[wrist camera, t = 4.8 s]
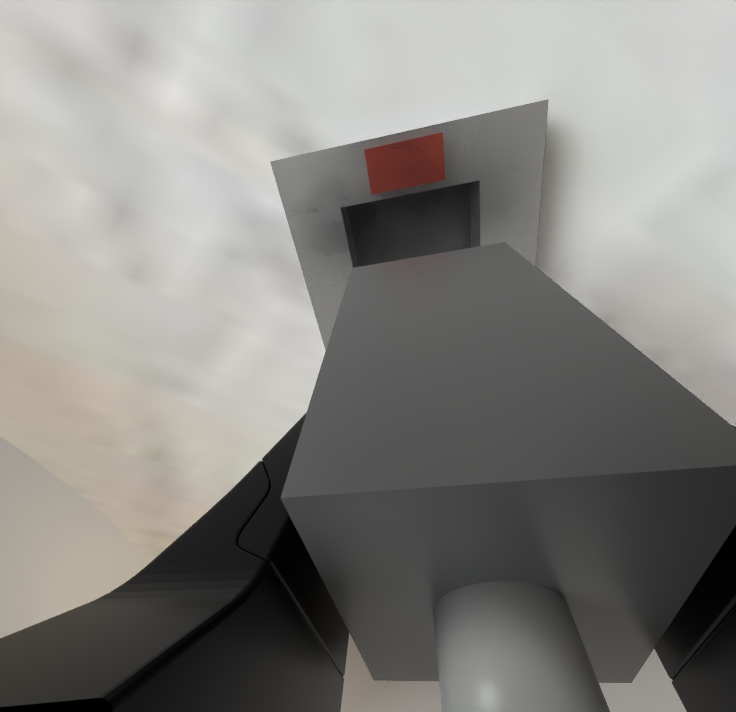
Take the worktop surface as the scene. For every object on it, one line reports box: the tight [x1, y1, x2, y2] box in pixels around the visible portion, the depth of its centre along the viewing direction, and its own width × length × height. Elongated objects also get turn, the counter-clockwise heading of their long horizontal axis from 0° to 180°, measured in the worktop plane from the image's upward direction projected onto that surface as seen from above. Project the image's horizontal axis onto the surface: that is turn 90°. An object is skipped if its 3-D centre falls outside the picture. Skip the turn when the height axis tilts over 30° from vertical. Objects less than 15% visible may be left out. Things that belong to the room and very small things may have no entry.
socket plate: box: [271, 100, 548, 350], centre depth 17 cm, size 11×11×3 cm
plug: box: [281, 242, 736, 712], centre depth 7 cm, size 4×5×8 cm
